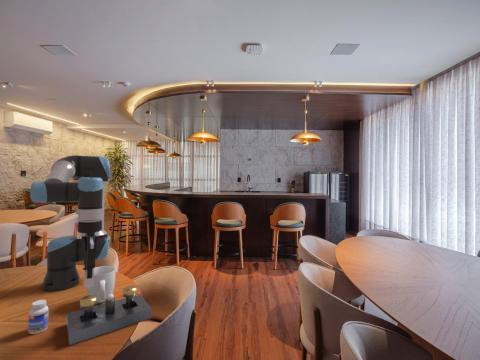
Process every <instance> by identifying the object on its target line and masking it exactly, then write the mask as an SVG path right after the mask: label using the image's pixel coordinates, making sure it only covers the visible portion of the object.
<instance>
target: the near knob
mask: <svg viewBox="0 0 480 360" xmlns="http://www.w3.org/2000/svg"><path fill="white" fill-rule="evenodd" d="M97 304H98V303H97V296H96V295H85V296H83V297H82V298H80V299H79V308H80V310H83V309H84V317H85V318H88V317H91V316H92V315H93V307H94V306H98V305H97Z"/></svg>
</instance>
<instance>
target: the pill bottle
mask: <svg viewBox="0 0 480 360" xmlns="http://www.w3.org/2000/svg"><path fill="white" fill-rule="evenodd" d="M48 327H49V307H48V305H47V300H46V299H39V300H36V301H33V302H32V303H31V309H30V310H29V311H28V328H27V329H28V330H27V331H28V332H27V333H28V334H31V335H36V334H40V333H42V332H45V331H46V330H47V329H48Z"/></svg>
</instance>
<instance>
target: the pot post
mask: <svg viewBox="0 0 480 360" xmlns="http://www.w3.org/2000/svg"><path fill="white" fill-rule="evenodd" d="M115 301H116V297H115V296H114V293H112V294H108V295H107V299H106V300H105V302H104V304H105V313H112V312H114V311H115Z"/></svg>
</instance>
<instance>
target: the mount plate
mask: <svg viewBox="0 0 480 360" xmlns="http://www.w3.org/2000/svg"><path fill="white" fill-rule="evenodd" d="M151 319H152V307H151V306H150V305H149V304H148V302H147V301H146V300H145V298H144V296H142V294H137V295H136V296H134V304H133V305H130V306H127V305H126V297H123V298H121V299H117V300H115V311H114V312H112V313H105V303H100V304H99V305H96V306H94V307H93V315H92V316H91V317H88V318H85V317H84V309H79V310H75V311H72V312H68V313H66V331H67V337H68V338H67V339H68V346H69V347H70V346H72V345H76V344H78V343H82V342H84V341H87V340H90V339H94V338H97V337H99V336H103V335H106V334H108V333H111V332H114V331H117V330H121V329H123V328H124V329H125V328H126V327H129V326H132V325H136V324H138V322H139V323H142V322H145V321H148V320H151Z"/></svg>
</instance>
